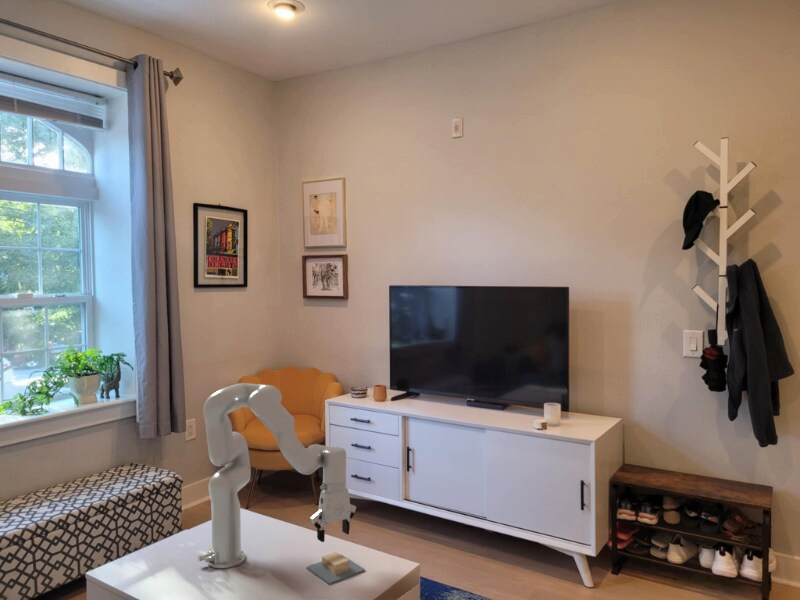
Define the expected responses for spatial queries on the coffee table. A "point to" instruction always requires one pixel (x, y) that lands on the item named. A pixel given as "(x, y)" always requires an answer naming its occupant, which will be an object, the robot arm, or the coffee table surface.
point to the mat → (332, 578)
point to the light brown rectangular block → (335, 563)
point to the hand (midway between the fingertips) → (333, 536)
